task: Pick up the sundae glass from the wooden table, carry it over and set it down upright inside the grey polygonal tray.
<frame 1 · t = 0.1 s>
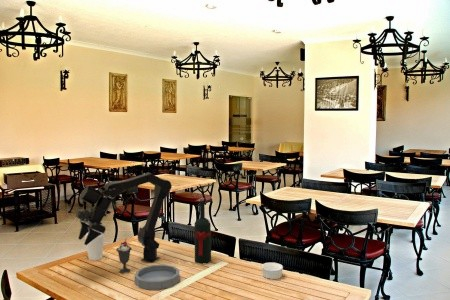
hand: (82, 241, 165), 15 cm above the table, tool tilted 30°, fingers open, 9 cm apart
foam cup: (95, 258, 187), on the table
wine bottle: (202, 262, 181), on the table
grey polygonal tray: (157, 280, 161), on the table
ramekin: (272, 276, 164), on the table
sundae: (124, 271, 171), on the table
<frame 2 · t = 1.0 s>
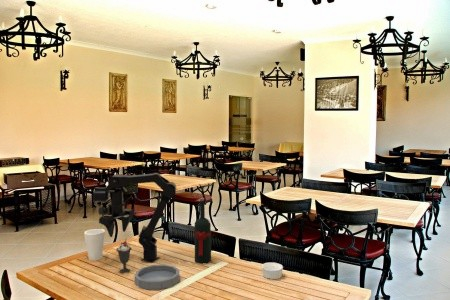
hand: (117, 234, 182), 13 cm above the table, tool pointing down, fingers open, 9 cm apart
nothing on the table moved.
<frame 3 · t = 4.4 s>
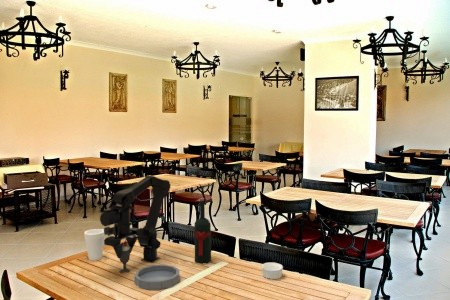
hand: (124, 255, 170), 7 cm above the table, tool pointing down, fingers closed on sundae, 7 cm apart
sundae: (124, 271, 171), on the table, touching gripper
everything else where it was.
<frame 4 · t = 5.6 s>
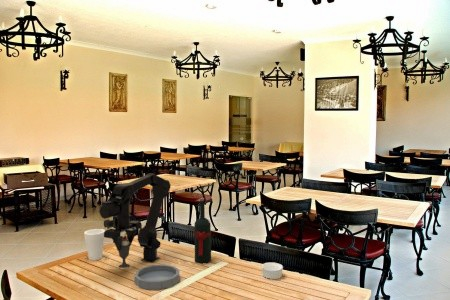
hand: (124, 248, 170), 10 cm above the table, tool pointing down, fingers closed on sundae, 6 cm apart
sundae: (124, 266, 170), point 2 cm above the table, touching gripper
everything else where it was.
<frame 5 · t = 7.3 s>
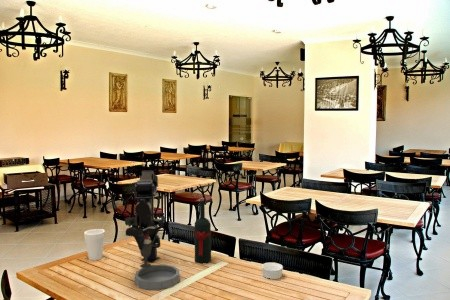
hand: (146, 247, 162), 13 cm above the table, tool pointing down, fingers closed on sundae, 6 cm apart
sundae: (145, 266, 163), point 5 cm above the table, touching gripper
everything else where it was.
when the fingers open (9 cm above the table, at t = 9.3 s): sundae stays where it is, resting on grey polygonal tray.
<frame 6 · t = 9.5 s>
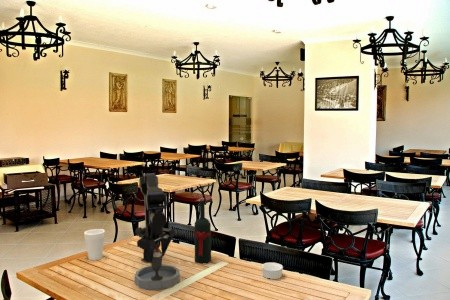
hand: (157, 258, 160), 9 cm above the table, tool pointing down, fingers open, 9 cm apart
sundae: (156, 278, 160), point 1 cm above the table, touching grey polygonal tray
everything else where it was.
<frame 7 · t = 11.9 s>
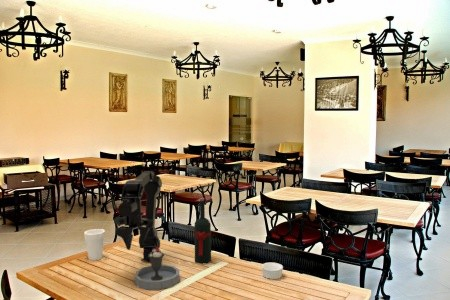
hand: (135, 246, 164), 13 cm above the table, tool pointing down, fingers open, 9 cm apart
nothing on the table moved.
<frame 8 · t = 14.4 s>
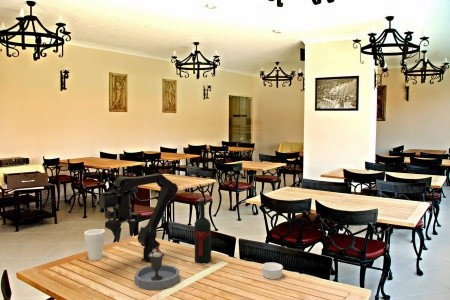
hand: (124, 238, 174), 13 cm above the table, tool pointing down, fingers open, 9 cm apart
nothing on the table moved.
at the end: sundae inside the target area on the grey polygonal tray (0.6 cm from its centre), point 0.8 cm above the grey polygonal tray's base; sundae tilted 0°; the gripper is holding nothing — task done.
